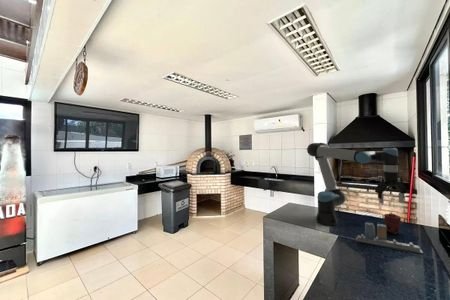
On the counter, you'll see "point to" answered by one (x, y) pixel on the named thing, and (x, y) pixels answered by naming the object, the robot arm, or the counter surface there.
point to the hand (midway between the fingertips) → (391, 203)
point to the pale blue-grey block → (381, 232)
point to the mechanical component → (392, 223)
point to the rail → (385, 243)
